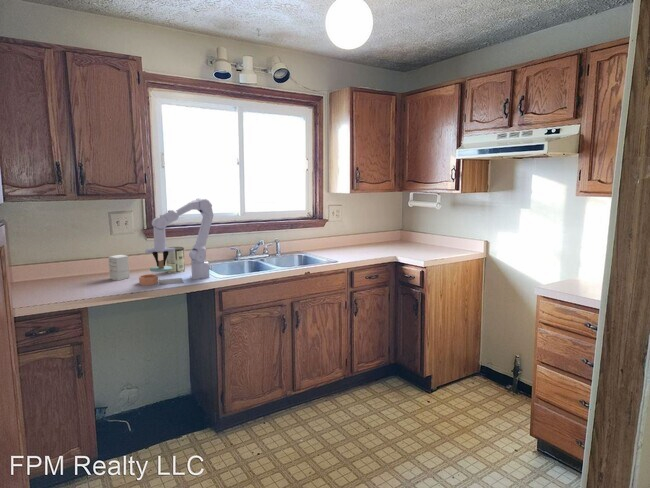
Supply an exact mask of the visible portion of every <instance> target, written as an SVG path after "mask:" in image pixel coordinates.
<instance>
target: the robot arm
mask: <svg viewBox="0 0 650 488" xmlns="http://www.w3.org/2000/svg"><path fill="white" fill-rule="evenodd" d="M212 207H213V205H212V203H211V202H210V200H209V199H206V198H196V199H194V200H191V201H189V202H188V203H186V204H184V205H183V206H181V207H180V208H178V209H176V210H174V209H169V210H167V212H165V213H164V214H160V215H159V217H158V216H157V217H155V218H153V220H152V221H151V225H152V227H153V240H154V241H153V246H154V247H153V248H145V249H144V250H145V251H144V252H145V254H152V256H153V258H154V260H155V262H156V266H159V264H158V260H159V254H158V253H162V257H163V258H162V260H163V261H164V266H166V259H167V256H168V254H169V253H168V252H175V248H169V247H167V244H166V243H167V242H166V241H167V238H166V227H167V226H168V225H170V224H172V223H174V222H175V221H177V220H179V218H180V216H182V215H184V214H187V213H188V212H190V211H193V210H196V211H198V212H199V213H200V215H201V216H202V219H201V223H200V227H199V229H198V233H197V238H196V240H195V244H194V245H193V246H192V248H191V250H190V251H189V254H188V255H189V258H190V259H191V262H190V264H191V265H190V267H191V268H190V269H191V270H190V271H191V275H189V276H190V278H191V280H198V279H200V280H201V279H209V278H210V264H209V261H208V260H207V261H206V259H207V254H206V252H207V248H206V245H207V244H206V243H207V241H208V237H209V233H210V230H211V226H212V224H213V223H212V222H213V219H214V212H213V208H212Z"/></svg>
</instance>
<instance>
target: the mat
mask: <svg viewBox="0 0 650 488" xmlns="http://www.w3.org/2000/svg"><path fill="white" fill-rule="evenodd" d="M184 283H185V282H184V280H183V278H182V277H177V278H164V279H163V278H162V279H158V284H159V286H166V285H167V286H168V285H176V284H177V285H178V284H184Z"/></svg>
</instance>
